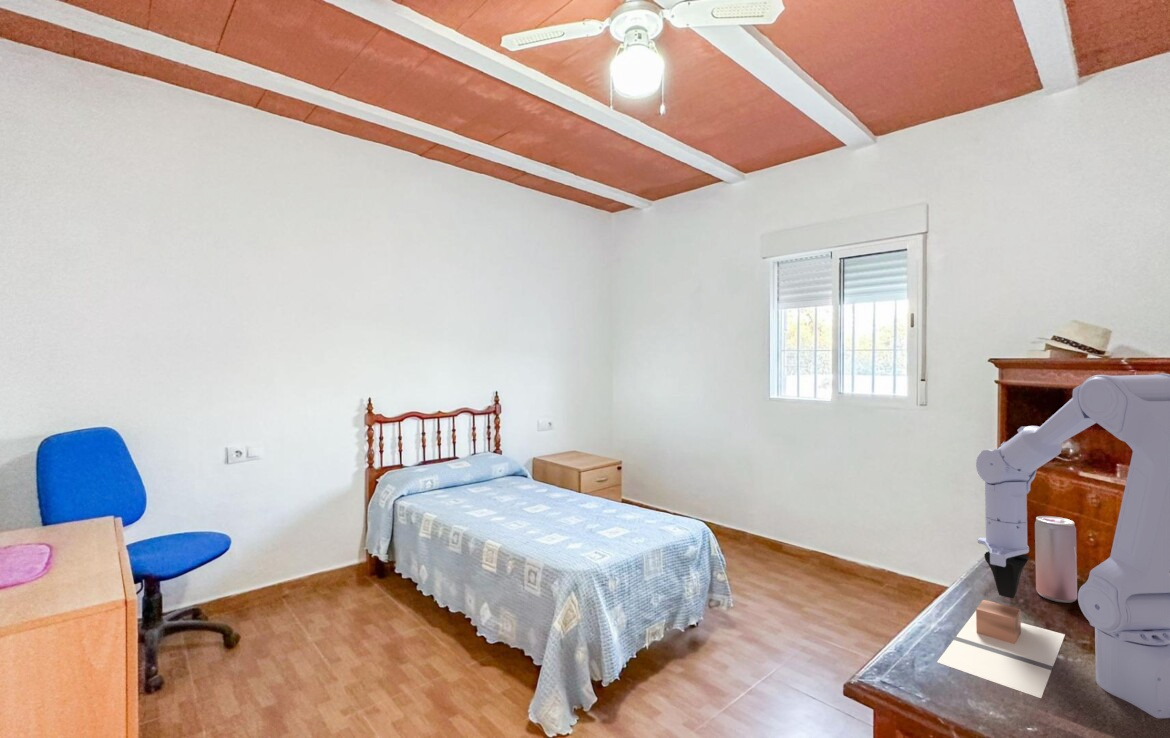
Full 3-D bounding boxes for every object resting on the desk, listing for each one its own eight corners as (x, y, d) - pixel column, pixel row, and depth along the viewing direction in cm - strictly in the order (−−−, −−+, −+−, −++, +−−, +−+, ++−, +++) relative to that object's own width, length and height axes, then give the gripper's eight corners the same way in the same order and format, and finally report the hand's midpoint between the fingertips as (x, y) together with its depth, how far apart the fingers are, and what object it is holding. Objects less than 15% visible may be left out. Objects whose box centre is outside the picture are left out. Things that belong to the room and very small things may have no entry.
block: (983, 622, 91) (983, 599, 91) (1020, 633, 87) (1020, 609, 87) (976, 632, 88) (976, 608, 88) (1014, 644, 84) (1014, 619, 84)
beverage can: (1035, 587, 106) (1034, 513, 106) (1075, 595, 103) (1074, 518, 103) (1036, 598, 102) (1035, 521, 102) (1078, 606, 98) (1077, 526, 98)
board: (976, 615, 95) (975, 610, 95) (1065, 640, 86) (1065, 634, 86) (936, 668, 79) (936, 662, 79) (1041, 705, 70) (1041, 698, 70)
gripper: (987, 506, 100) (988, 577, 100) (967, 522, 90) (968, 601, 91) (1035, 513, 95) (1036, 588, 95) (1020, 531, 85) (1021, 615, 85)
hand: (1007, 595), depth 92 cm, fingers closed
